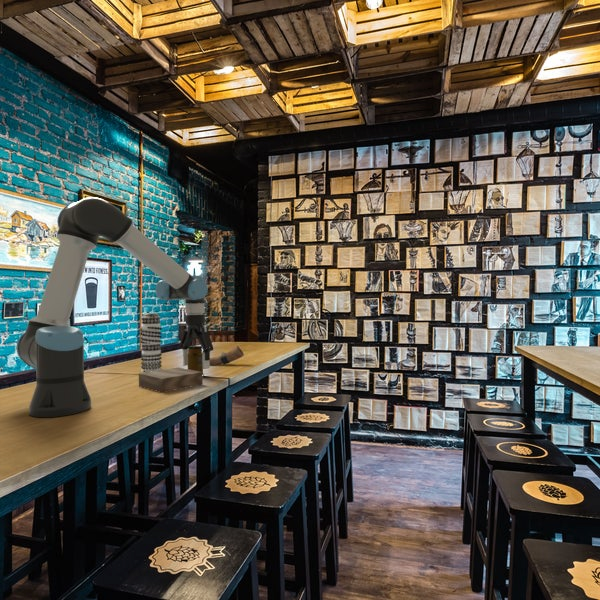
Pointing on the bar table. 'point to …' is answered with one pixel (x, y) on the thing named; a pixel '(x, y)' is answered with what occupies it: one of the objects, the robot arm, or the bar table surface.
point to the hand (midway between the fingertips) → (196, 366)
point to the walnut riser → (170, 379)
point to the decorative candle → (151, 342)
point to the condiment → (195, 358)
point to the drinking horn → (227, 357)
